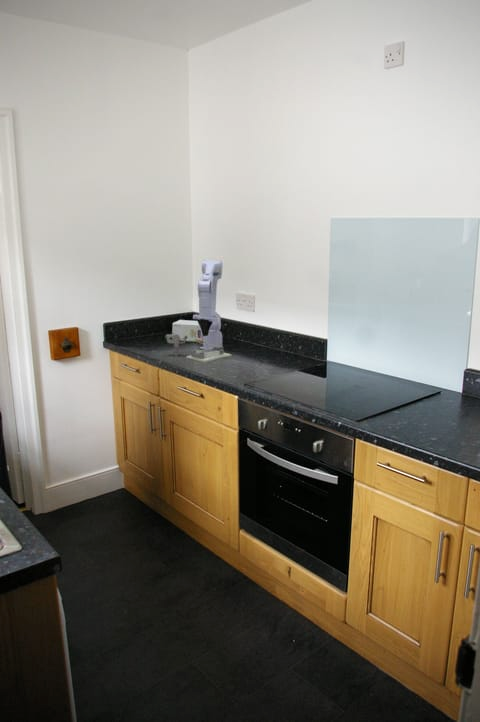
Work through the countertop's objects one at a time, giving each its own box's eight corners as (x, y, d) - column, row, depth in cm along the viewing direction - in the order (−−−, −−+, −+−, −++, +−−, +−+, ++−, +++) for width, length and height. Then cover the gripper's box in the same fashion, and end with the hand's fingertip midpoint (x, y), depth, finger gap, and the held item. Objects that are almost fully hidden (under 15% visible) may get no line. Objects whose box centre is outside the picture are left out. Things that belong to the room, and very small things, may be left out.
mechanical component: (186, 356, 276) (186, 335, 274) (165, 356, 276) (164, 335, 274) (187, 355, 279) (187, 334, 277) (166, 354, 279) (165, 334, 277)
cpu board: (213, 352, 286) (213, 344, 285) (231, 356, 278) (231, 348, 277) (186, 358, 273) (186, 350, 272) (204, 362, 265) (204, 354, 264)
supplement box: (172, 340, 315) (171, 323, 313) (180, 336, 327) (180, 319, 325) (202, 342, 311) (201, 324, 309) (209, 337, 323) (209, 321, 321)
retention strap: (215, 347, 281) (215, 345, 281) (221, 349, 278) (222, 346, 278) (194, 341, 270) (195, 339, 270) (201, 342, 267) (201, 340, 267)
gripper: (188, 306, 273) (188, 334, 276) (210, 309, 263) (210, 338, 266) (199, 304, 278) (199, 333, 281) (221, 307, 269) (220, 336, 272)
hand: (205, 335), depth 274 cm, fingers closed
